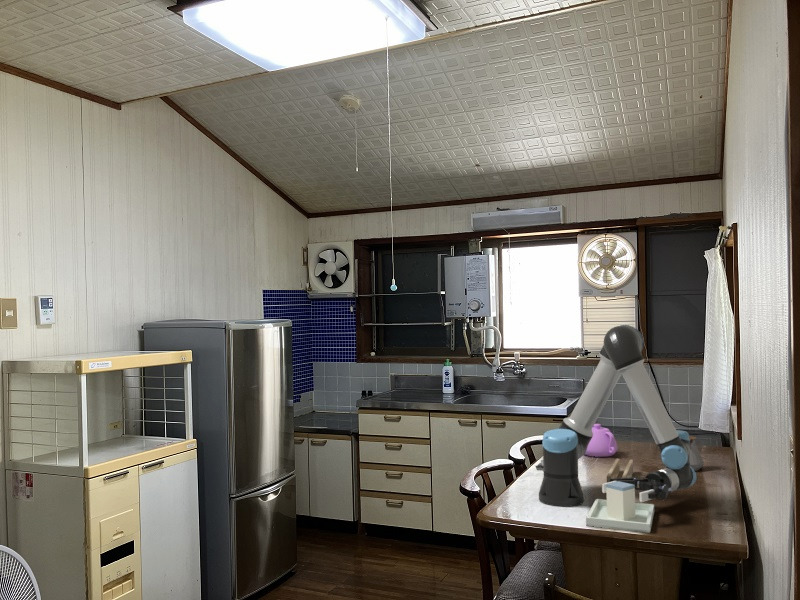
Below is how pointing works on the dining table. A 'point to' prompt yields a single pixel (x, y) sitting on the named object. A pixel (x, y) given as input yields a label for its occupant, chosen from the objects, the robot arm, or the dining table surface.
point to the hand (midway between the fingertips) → (621, 492)
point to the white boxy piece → (620, 500)
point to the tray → (639, 523)
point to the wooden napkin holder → (616, 468)
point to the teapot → (601, 442)
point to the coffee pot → (695, 455)
